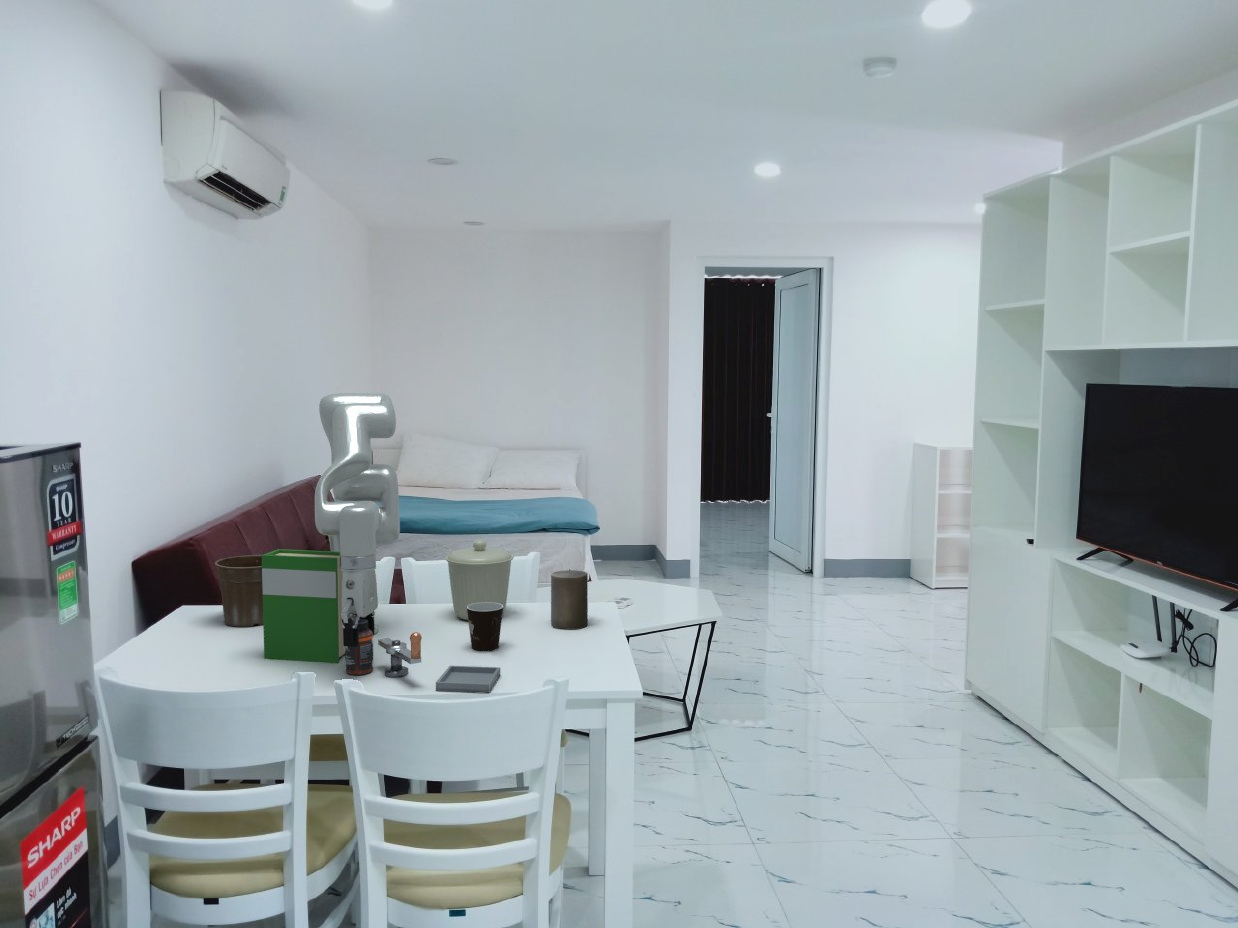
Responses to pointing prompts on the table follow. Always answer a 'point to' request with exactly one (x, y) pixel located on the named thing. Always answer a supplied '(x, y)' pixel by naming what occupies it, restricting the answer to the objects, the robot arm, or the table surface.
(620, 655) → the table surface
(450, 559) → the canister
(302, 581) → the hardback book
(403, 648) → the crank
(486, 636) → the coffee mug
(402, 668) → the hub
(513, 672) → the table surface
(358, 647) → the supplement bottle
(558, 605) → the pillar candle
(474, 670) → the tray
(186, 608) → the table surface
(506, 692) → the table surface
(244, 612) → the plant pot
